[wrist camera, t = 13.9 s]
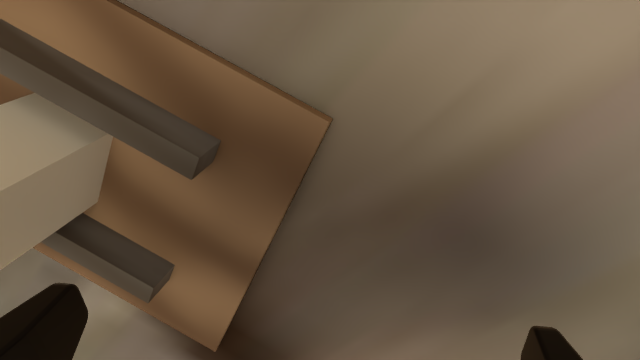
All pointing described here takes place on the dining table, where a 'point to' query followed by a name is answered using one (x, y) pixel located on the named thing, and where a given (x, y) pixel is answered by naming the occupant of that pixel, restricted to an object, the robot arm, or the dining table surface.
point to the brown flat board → (163, 156)
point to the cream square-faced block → (45, 171)
